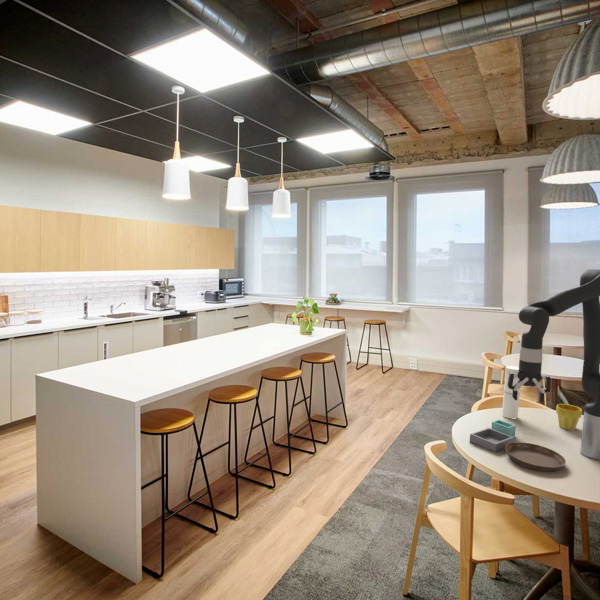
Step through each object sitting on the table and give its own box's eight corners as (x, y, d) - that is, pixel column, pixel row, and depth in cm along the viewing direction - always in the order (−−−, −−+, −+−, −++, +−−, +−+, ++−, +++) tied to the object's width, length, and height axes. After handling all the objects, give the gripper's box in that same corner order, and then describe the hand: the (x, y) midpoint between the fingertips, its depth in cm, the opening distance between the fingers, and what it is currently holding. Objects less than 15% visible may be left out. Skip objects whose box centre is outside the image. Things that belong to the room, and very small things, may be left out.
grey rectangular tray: (487, 435, 190) (488, 427, 189) (513, 445, 180) (514, 437, 180) (469, 441, 182) (470, 434, 182) (495, 452, 172) (495, 444, 172)
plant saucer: (572, 463, 166) (572, 455, 165) (555, 480, 152) (555, 471, 151) (516, 445, 181) (516, 437, 180) (496, 459, 167) (496, 451, 166)
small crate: (497, 430, 196) (498, 419, 196) (514, 436, 190) (515, 425, 189) (491, 432, 193) (491, 421, 193) (508, 438, 186) (509, 427, 186)
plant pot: (583, 433, 196) (585, 412, 195) (558, 429, 199) (560, 409, 198) (575, 424, 206) (577, 405, 205) (551, 422, 209) (553, 402, 208)
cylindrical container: (506, 419, 211) (510, 369, 208) (499, 413, 218) (503, 365, 216) (520, 419, 211) (524, 369, 209) (512, 414, 218) (516, 366, 216)
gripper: (548, 358, 164) (545, 399, 165) (508, 355, 167) (505, 396, 169) (554, 363, 156) (551, 406, 158) (512, 360, 160) (509, 402, 162)
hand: (527, 400), depth 163 cm, fingers open, 8 cm apart
